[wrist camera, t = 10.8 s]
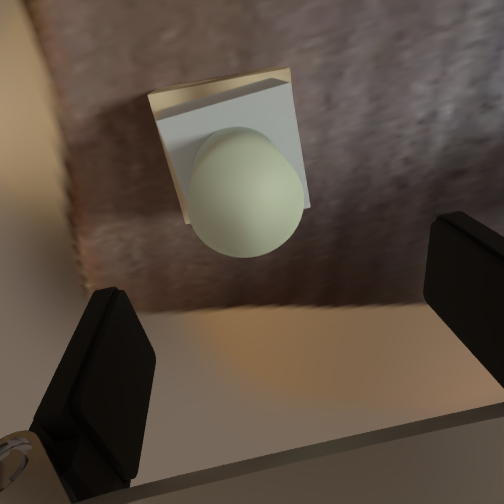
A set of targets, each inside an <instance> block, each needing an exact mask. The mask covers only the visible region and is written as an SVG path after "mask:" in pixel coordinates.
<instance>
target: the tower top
mask: <svg viewBox="0 0 504 504" xmlns="http://www.w3.org/2000/svg"><path fill="white" fill-rule="evenodd" d="M156 123H157V125H158V128H159V131H160V133H161V136H162V139H163V141H164V144H165V147H166V149H167V152H168V155H169V157H170V160H171V162H172V165H173V168H174V170H175V173H176V176H177V178H178V181H179V184H180V186H181V189H182V191H183V194H184V197H185V199H186V202H187V196H188V190H189V185H190V179H191V174H192V168H193V163H194V159H195V156H196V154H197V151H198V150H199V148H200V146H201V145H202V144H203V142H204V141H205V140H206V139H207V138H208V137H210V136H211V135H212V134H214V133H216V132H217V131H219V130H222V129H225V128H229V127H236V126H238V127H247V128H251V129H254V130H256V131H258V132H260V133H262V134H263V135H265V136H266V137H267V138H268V139H270V140H271V142H272V143H273V144H274V145H275V147H276V148H277V149H278V150H279V151H280V153H281V154H282V155H283V156H284V158H285V159H286V160H287V161H288V163H289V164H290V165H291V166H292V168H293V169H294V170H295V172H296V173H297V175H298V177H299V179H300V182H301V184H302V188H303V193H304V208H303V209H306V208H310V201H309V194H308V188H307V182H306V176H305V170H304V164H303V158H302V151H301V145H300V139H299V133H298V127H297V121H296V115H295V108H294V102H293V96H292V90H291V84H290V82H287V81H283V80H279V79H276V78H272V77H271V78H268V79H264V80H261V81H257V82H254V83H250V84H247V85H243V86H240V87H237V88H233V89H230V90H226V91H223V92H219V93H216V94H212V95H209V96H205V97H202V98H198V99H195V100H191V101H188V102H185V103H181V104H178V105H174V106H171V107H167V108H165V109H164V110H163V111H162V113H161V114H160V116H159V117H158V119H157V120H156Z"/></svg>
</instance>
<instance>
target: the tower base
mask: <svg viewBox="0 0 504 504" xmlns="http://www.w3.org/2000/svg"><path fill="white" fill-rule="evenodd" d="M271 77H272V78H276V79H279V80H283V81H287V82H290V84H291V75H290V68H287V67H278V66H273V67H268V68H262V69H257V70H252V71H247V72H241V73H236V74H231V75H226V76H220V77H215V78H210V79H205V80H199V81H194V82H189V83H184V84H178V85H173V86H168V87H163V88H157V89H155V90H154V91H152V92H151V93H150V94H148V98H149V102H150V105H151V109H152V112H153V115H154V119H155V122H156V120H157V119H158V117H159V116H160V114H161V113H162V111H163V110H164V109H165V108H167V107H171V106H174V105H178V104H181V103H185V102H188V101H191V100H195V99H198V98H202V97H205V96H209V95H212V94H216V93H219V92H223V91H226V90H230V89H233V88H237V87H240V86H243V85H247V84H250V83H254V82H257V81H261V80H264V79H268V78H271ZM291 90H292V86H291ZM156 125H157V123H156ZM157 129H158V132H159V136H160V139H161V142H162V146H163V149H164V152H165V156H166V159H167V163H168V166H169V169H170V173H171V176H172V179H173V183H174V186H175V190H176V193H177V196H178V200H179V203H180V206H181V210H182V213H183V217H184V220H185V223H186V224H189V223H190V220H189V217H188V212H187V202H186V199H185V197H184V194H183V191H182V189H181V186H180V184H179V181H178V178H177V176H176V173H175V170H174V168H173V165H172V162H171V160H170V157H169V155H168V152H167V149H166V147H165V144H164V141H163V139H162V136H161V133H160V131H159V128H158V125H157Z"/></svg>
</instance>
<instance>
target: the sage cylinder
mask: <svg viewBox="0 0 504 504" xmlns="http://www.w3.org/2000/svg"><path fill="white" fill-rule="evenodd" d="M303 208H304V193H303V188H302V184H301V182H300V179H299V177H298V175H297V173H296V172H295V170H294V169H293V168H292V166H291V165H290V164H289V163H288V161H287V160H286V159H285V158H284V156H283V155H282V154H281V153H280V151H279V150H278V149H277V148H276V147H275V145H274V144H273V143H272V142H271V140H270V139H268V138H267V137H266V136H265V135H263V134H262V133H260V132H258V131H256V130H254V129H251V128H247V127H238V126H236V127H229V128H225V129H222V130H219V131H217V132H216V133H214V134H212V135H211V136H210V137H208V138H207V139H206V140H205V141H204V142H203V144H202V145H201V146H200V148H199V150H198V151H197V154H196V156H195V159H194V163H193V168H192V174H191V179H190V185H189V190H188V196H187V212H188V217H189V220H190V223H191V225H192V227H193V230H194V231H195V233H196V234H197V236H198V237H199V238H200V239H201V240H202V241H203V242H204V243H205V244H206V245H207V246H209V247H210V248H212V249H213V250H215V251H217V252H219V253H221V254H224V255H227V256H231V257H238V258H249V257H256V256H260V255H263V254H266V253H269V252H271V251H273V250H275V249H276V248H278V247H279V246H281V245H282V244H283V243H284V242H286V241H287V240H288V239H289V237H290V236H291V235H292V234H293V233H294V231H295V230H296V228H297V226H298V224H299V222H300V220H301V217H302V213H303Z"/></svg>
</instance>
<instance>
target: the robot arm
mask: <svg viewBox="0 0 504 504" xmlns="http://www.w3.org/2000/svg"><path fill="white" fill-rule="evenodd" d="M423 294H424V298H425V300H426V302H427V303H428V305H429V306H430V307H431V308H432V309H433V310H434V311H435V312H436V313H437V315H438V316H439V317H440V318H441V319H442V320H443V321H444V322H445V323H446V324H447V326H448V327H449V328H450V329H451V330H452V331H453V332H454V334H455V335H456V336H457V337H458V338H459V339H460V340H461V341H462V342H463V344H464V345H465V346H466V347H467V348H468V349H469V350H470V351H471V352H472V354H473V355H474V356H475V357H476V358H477V359H478V360H479V361H480V363H481V364H482V365H483V366H484V367H485V368H486V369H487V370H488V371H489V372H490V374H491V375H492V376H493V377H494V378H495V379H496V380H497V382H498V383H499V384H500V385H501V386H502V387H503V388H504V237H503V236H501V235H500V234H498V233H496V232H495V231H493V230H491V229H490V228H488V227H486V226H485V225H483V224H481V223H480V222H478V221H476V220H475V219H473V218H472V217H470V216H468V215H467V214H465V213H463V212H461V211H457V212H453V213H448V214H444V215H440V216H438V217H437V219H436V221H434V222H433V223H432V224H431V229H430V238H429V246H428V255H427V263H426V272H425V280H424V289H423ZM155 365H156V356H155V352H154V350H153V348H152V346H151V344H150V342H149V339H148V338H147V335H146V333H145V331H144V329H143V327H142V325H141V323H140V321H139V319H138V317H137V315H136V313H135V311H134V309H133V307H132V305H131V302H130V300H129V298H128V296H127V294H126V293H125V291H124V290H118V288H117V287H110V288H105V289H101V290H96V291H94V293H93V294H92V296H91V298H90V301H89V303H88V305H87V307H86V309H85V311H84V313H83V315H82V317H81V319H80V321H79V324H78V326H77V328H76V330H75V332H74V334H73V336H72V338H71V340H70V342H69V344H68V346H67V349H66V351H65V353H64V355H63V357H62V359H61V361H60V363H59V365H58V368H57V369H56V372H55V374H54V376H53V378H52V380H51V382H50V384H49V386H48V388H47V391H46V393H45V395H44V397H43V399H42V401H41V403H40V405H39V407H38V409H37V411H36V413H35V416H34V418H33V419H34V420H33V422H32V424H31V426H30V428H29V430H28V431H27V430H25V431H18V432H14V433H12V434H10V435H7V436H5V437H3V438H1V439H0V504H504V402H502V403H498V404H493V405H489V406H484V407H480V408H475V409H470V410H466V411H461V412H457V413H452V414H448V415H443V416H438V417H434V418H429V419H425V420H420V421H416V422H411V423H407V424H403V425H398V426H393V427H389V428H385V429H380V430H375V431H371V432H367V433H362V434H358V435H353V436H349V437H344V438H340V439H336V440H331V441H327V442H322V443H318V444H313V445H309V446H305V447H300V448H295V449H291V450H287V451H282V452H278V453H274V454H269V455H265V456H260V457H256V458H252V459H247V460H243V461H239V462H234V463H230V464H226V465H221V466H217V467H213V468H208V469H204V470H200V471H196V472H191V473H187V474H182V475H178V476H174V477H170V478H166V479H162V480H158V481H154V482H150V483H146V484H142V485H138V486H134V487H130V482H131V479H134V478H135V477H136V475H137V473H138V468H139V461H140V456H141V450H142V444H143V438H144V431H145V426H146V419H147V413H148V407H149V401H150V395H151V389H152V383H153V377H154V371H155Z"/></svg>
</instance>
